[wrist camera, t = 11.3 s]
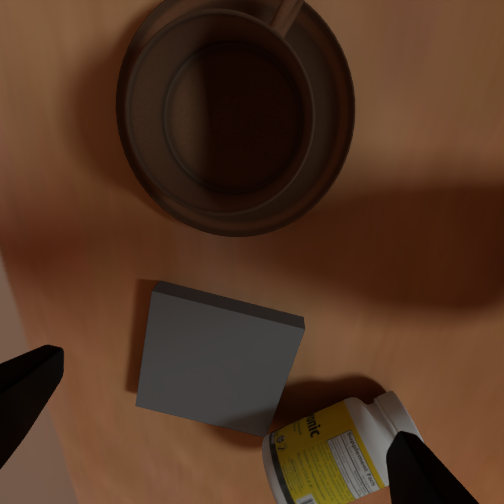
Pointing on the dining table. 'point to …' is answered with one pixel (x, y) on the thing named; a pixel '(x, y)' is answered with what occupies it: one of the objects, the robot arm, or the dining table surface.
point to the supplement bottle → (335, 451)
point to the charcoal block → (216, 358)
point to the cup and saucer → (235, 112)
